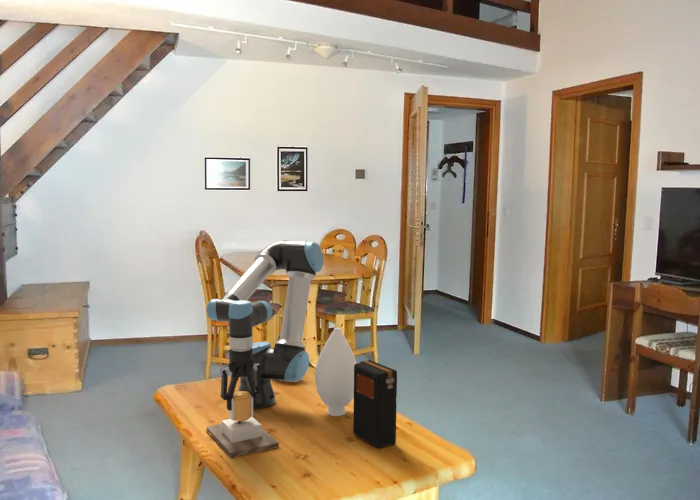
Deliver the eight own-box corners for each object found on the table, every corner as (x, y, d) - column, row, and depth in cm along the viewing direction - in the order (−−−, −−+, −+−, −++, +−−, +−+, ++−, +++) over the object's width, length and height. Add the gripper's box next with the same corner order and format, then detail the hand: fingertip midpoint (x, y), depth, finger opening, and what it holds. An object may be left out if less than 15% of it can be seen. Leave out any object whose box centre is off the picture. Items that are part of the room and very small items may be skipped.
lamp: (309, 408, 225) (309, 317, 221) (347, 403, 231) (348, 314, 228) (324, 423, 210) (324, 326, 207) (364, 417, 216) (366, 322, 213)
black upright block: (399, 444, 193) (400, 369, 191) (378, 450, 188) (379, 373, 186) (370, 428, 206) (371, 358, 204) (349, 434, 201) (350, 362, 199)
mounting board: (250, 422, 211) (250, 418, 211) (278, 447, 190) (278, 442, 190) (206, 430, 202) (206, 426, 202) (230, 457, 182) (230, 453, 182)
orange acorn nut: (246, 413, 200) (246, 390, 199) (252, 418, 195) (252, 395, 194) (229, 416, 197) (229, 392, 196) (235, 422, 192) (235, 398, 191)
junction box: (250, 426, 203) (250, 400, 202) (261, 436, 194) (261, 410, 194) (221, 432, 198) (221, 405, 197) (232, 442, 189) (231, 415, 189)
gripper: (263, 342, 202) (263, 408, 204) (209, 349, 192) (210, 418, 194) (272, 347, 195) (272, 415, 197) (216, 354, 185) (217, 426, 188)
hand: (241, 417), depth 196 cm, fingers closed on orange acorn nut, 6 cm apart
